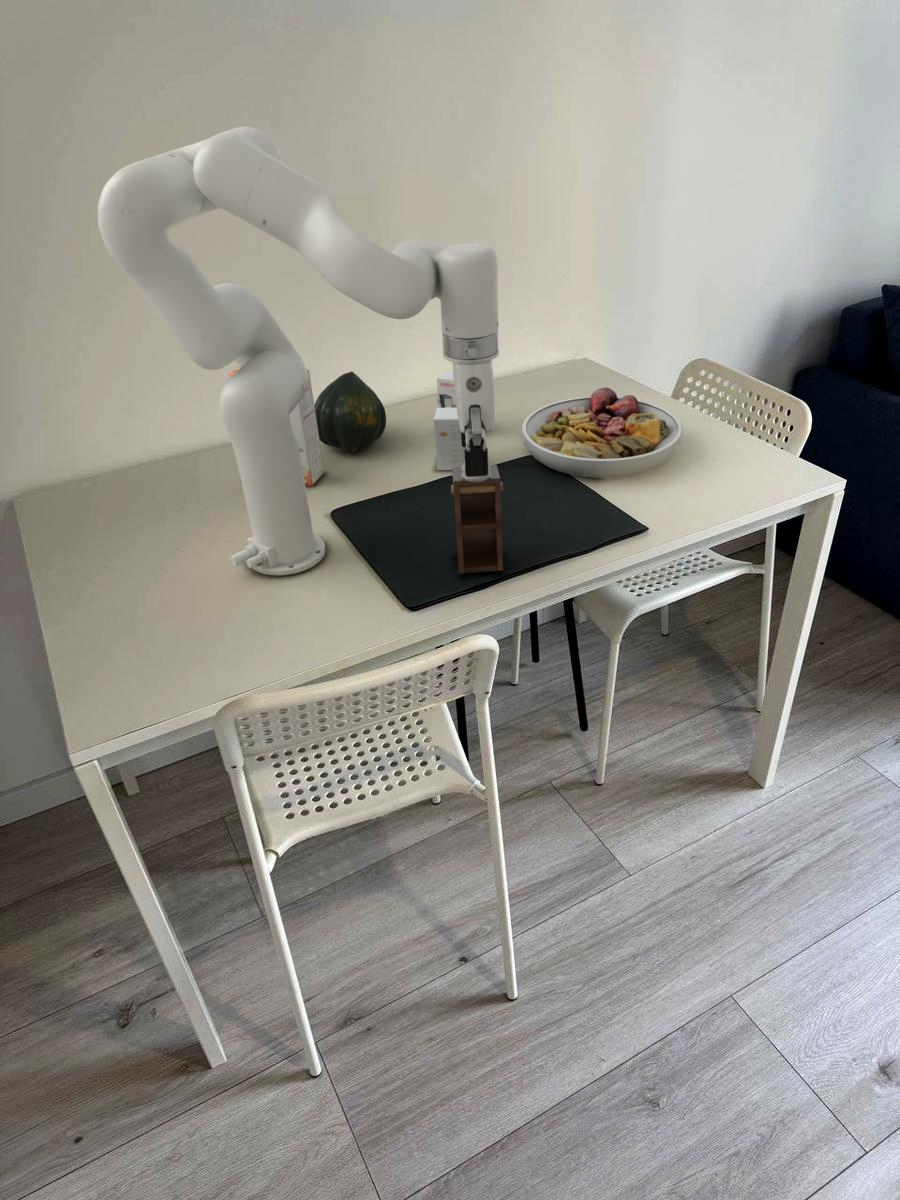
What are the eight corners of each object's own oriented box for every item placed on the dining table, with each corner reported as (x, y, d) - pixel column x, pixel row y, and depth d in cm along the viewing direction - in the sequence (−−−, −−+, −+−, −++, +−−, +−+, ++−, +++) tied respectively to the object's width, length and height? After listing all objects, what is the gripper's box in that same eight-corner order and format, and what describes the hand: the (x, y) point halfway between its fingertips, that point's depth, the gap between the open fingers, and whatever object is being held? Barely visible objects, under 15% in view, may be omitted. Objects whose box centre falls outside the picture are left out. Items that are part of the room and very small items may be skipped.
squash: (313, 443, 165) (355, 374, 162) (291, 419, 176) (329, 355, 174) (371, 475, 173) (411, 411, 170) (346, 451, 185) (383, 390, 182)
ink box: (437, 433, 178) (434, 378, 172) (446, 424, 182) (443, 369, 176) (478, 437, 176) (475, 381, 169) (485, 427, 180) (483, 372, 173)
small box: (480, 457, 168) (478, 406, 162) (478, 470, 164) (476, 418, 158) (439, 458, 169) (436, 406, 163) (436, 470, 164) (433, 418, 158)
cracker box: (245, 481, 165) (223, 375, 153) (260, 467, 170) (240, 363, 158) (312, 488, 161) (295, 379, 149) (325, 473, 166) (309, 367, 154)
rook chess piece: (466, 484, 124) (463, 430, 121) (457, 474, 128) (454, 421, 124) (495, 480, 125) (493, 426, 122) (486, 470, 129) (484, 417, 125)
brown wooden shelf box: (449, 467, 131) (450, 481, 126) (499, 464, 131) (503, 478, 126) (454, 557, 138) (456, 573, 133) (502, 553, 138) (505, 570, 133)
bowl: (684, 487, 154) (689, 446, 149) (515, 483, 158) (515, 444, 154) (675, 419, 178) (678, 382, 173) (528, 418, 183) (528, 382, 178)
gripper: (504, 364, 109) (506, 486, 119) (493, 322, 123) (495, 434, 133) (445, 367, 109) (451, 489, 119) (440, 325, 123) (446, 437, 133)
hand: (474, 460), depth 126 cm, fingers open, 9 cm apart
